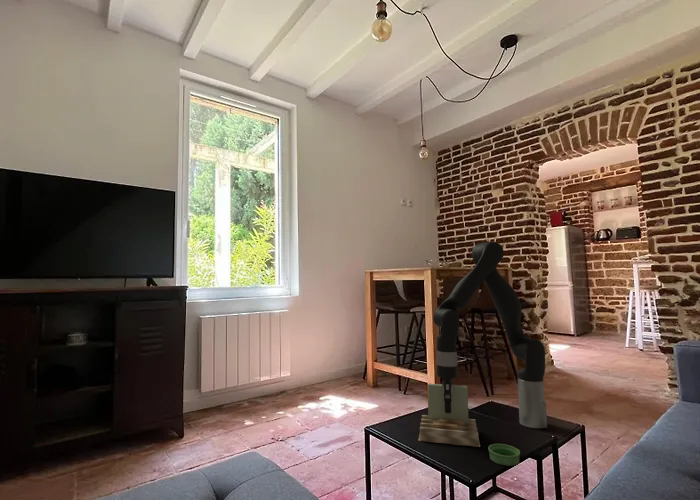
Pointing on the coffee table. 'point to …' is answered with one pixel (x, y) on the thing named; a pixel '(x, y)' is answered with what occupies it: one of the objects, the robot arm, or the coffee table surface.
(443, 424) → the offcut front
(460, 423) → the offcut middle
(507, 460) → the ramekin
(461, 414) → the sage board
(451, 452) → the coffee table surface
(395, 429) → the coffee table surface
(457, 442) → the rack
